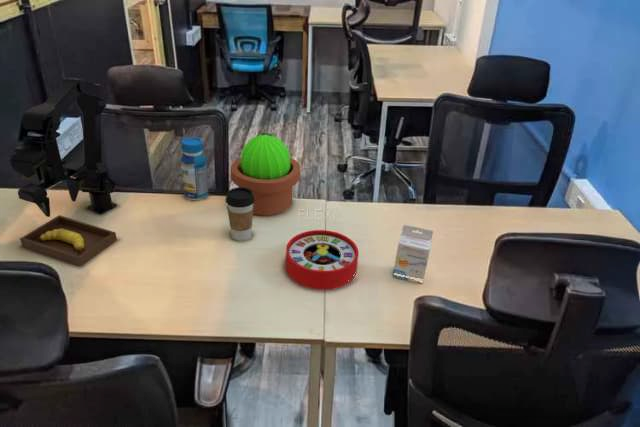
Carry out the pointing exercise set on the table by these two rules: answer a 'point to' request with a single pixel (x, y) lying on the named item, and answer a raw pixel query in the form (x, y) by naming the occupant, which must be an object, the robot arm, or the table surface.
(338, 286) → the toy clock
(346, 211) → the table surface
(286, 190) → the potted cactus
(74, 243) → the banana
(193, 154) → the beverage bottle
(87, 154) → the robot arm
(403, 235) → the ink box
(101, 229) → the tray
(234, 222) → the coffee cup
